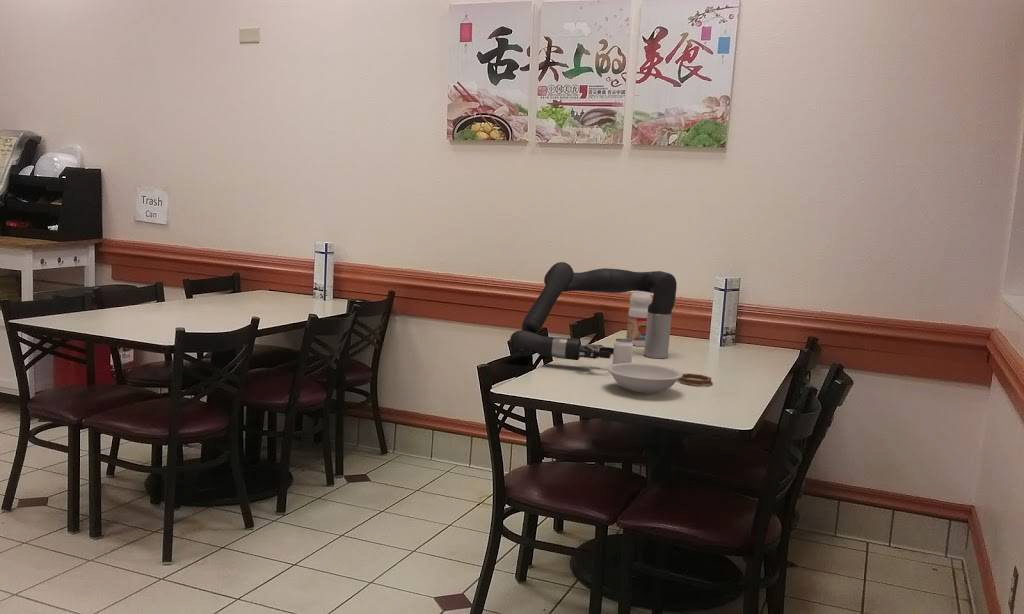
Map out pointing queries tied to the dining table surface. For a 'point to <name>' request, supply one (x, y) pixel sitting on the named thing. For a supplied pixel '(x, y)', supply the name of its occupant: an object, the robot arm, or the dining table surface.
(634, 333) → the fruit juice
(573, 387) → the dining table surface
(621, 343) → the can
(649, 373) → the soup bowl
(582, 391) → the dining table surface
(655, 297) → the robot arm
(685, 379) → the octagonal wooden coaster
